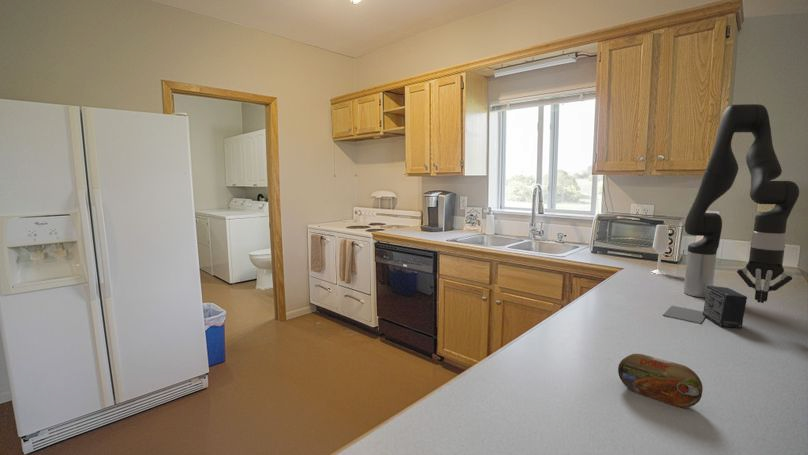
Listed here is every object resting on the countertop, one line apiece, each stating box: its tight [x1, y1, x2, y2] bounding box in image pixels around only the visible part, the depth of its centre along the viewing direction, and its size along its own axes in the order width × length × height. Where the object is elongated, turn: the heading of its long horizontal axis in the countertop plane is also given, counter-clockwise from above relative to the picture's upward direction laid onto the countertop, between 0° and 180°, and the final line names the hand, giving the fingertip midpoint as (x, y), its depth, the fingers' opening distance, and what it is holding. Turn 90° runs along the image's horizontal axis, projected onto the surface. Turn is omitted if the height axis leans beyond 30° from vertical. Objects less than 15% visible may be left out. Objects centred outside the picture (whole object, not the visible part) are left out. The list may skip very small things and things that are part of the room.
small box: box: [702, 285, 748, 329], centre depth 125 cm, size 11×6×10 cm, turn 168°
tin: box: [617, 353, 704, 408], centre depth 82 cm, size 15×3×8 cm, turn 46°
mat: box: [662, 305, 706, 325], centre depth 133 cm, size 14×10×1 cm
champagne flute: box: [651, 224, 670, 275], centre depth 190 cm, size 7×7×24 cm
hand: (760, 302), depth 119 cm, fingers closed
